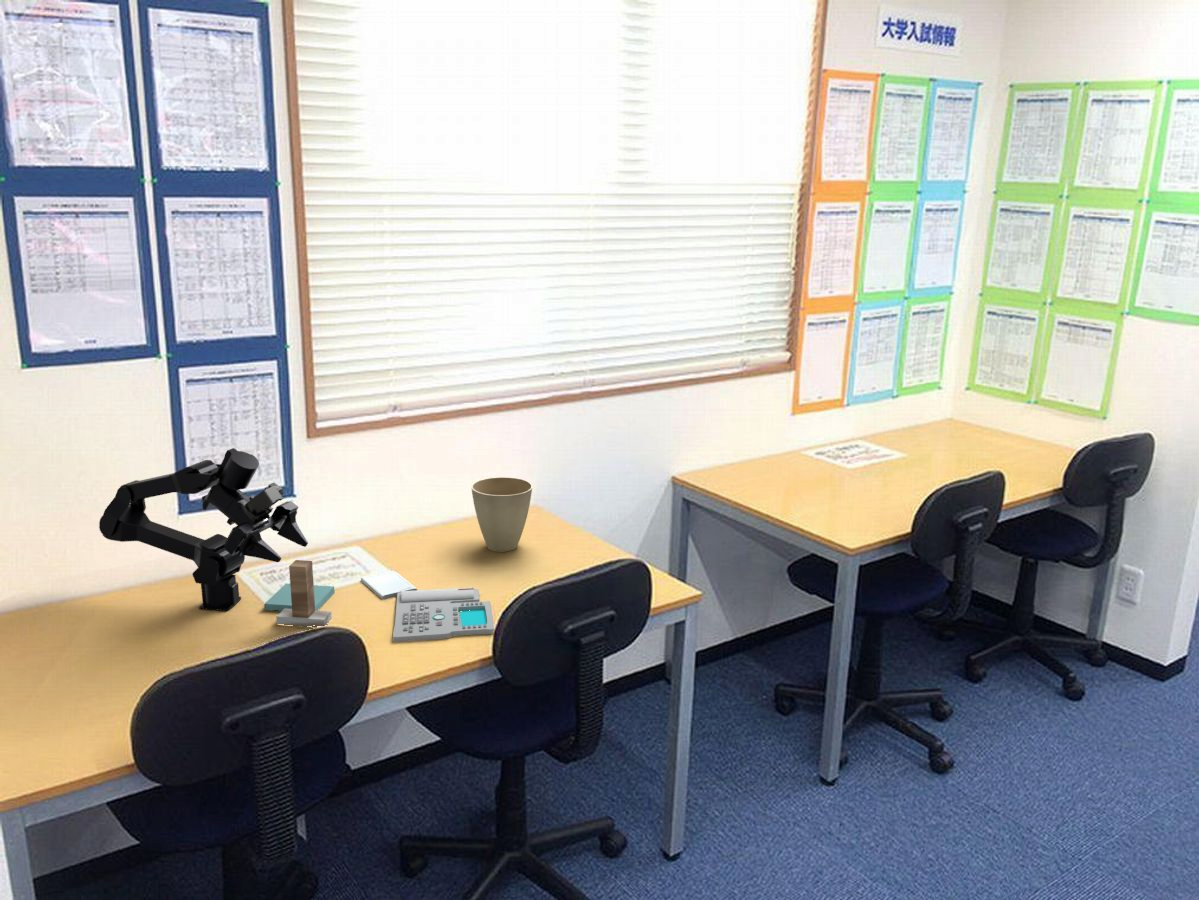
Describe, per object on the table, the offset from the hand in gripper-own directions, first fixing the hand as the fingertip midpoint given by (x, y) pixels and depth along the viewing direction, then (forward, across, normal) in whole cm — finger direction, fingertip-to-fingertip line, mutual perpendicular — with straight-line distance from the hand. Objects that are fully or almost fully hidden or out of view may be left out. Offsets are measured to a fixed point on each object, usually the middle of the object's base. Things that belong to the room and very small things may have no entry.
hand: (293, 552), depth 202 cm
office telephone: (+31, +12, -3) cm, 33 cm away
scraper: (+10, -2, +10) cm, 15 cm away
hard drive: (+16, +21, +8) cm, 28 cm away
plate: (+4, +7, +14) cm, 16 cm away
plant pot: (+28, +52, -1) cm, 59 cm away
